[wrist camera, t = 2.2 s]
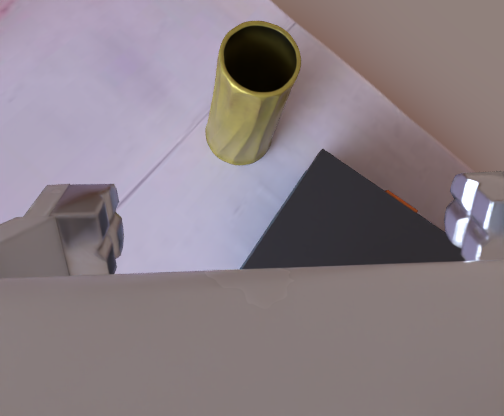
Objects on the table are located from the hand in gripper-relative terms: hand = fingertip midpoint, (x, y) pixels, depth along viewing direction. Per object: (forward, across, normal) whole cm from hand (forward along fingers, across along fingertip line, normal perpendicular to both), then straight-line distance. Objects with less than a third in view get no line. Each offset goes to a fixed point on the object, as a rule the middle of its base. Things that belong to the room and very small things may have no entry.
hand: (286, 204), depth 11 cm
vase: (+31, 0, +10) cm, 33 cm away
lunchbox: (+24, -8, +20) cm, 32 cm away
